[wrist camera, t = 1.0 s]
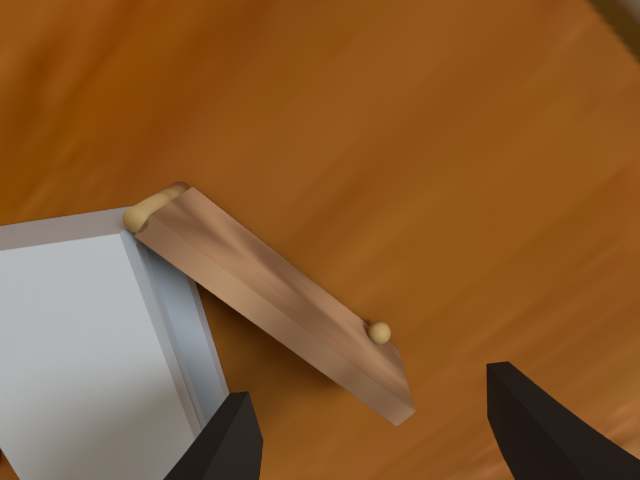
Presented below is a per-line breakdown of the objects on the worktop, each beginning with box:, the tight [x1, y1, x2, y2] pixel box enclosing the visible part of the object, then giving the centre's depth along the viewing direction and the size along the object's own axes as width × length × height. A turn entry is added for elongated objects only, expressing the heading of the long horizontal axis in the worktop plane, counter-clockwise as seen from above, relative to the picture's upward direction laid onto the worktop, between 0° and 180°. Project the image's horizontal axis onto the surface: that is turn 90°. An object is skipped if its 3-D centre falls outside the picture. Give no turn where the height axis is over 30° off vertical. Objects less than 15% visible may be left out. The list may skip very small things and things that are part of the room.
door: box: [122, 182, 415, 426], centre depth 18 cm, size 15×2×5 cm, turn 49°
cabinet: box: [0, 206, 229, 480], centre depth 20 cm, size 15×10×5 cm, turn 9°
